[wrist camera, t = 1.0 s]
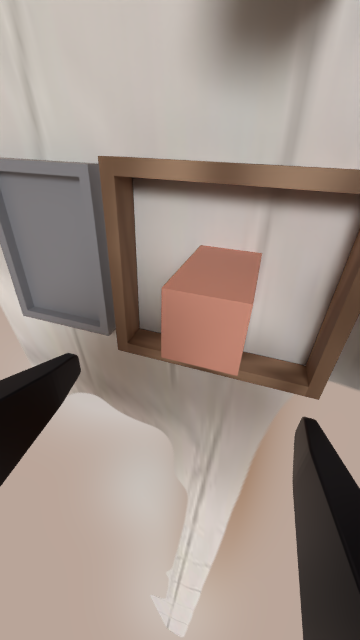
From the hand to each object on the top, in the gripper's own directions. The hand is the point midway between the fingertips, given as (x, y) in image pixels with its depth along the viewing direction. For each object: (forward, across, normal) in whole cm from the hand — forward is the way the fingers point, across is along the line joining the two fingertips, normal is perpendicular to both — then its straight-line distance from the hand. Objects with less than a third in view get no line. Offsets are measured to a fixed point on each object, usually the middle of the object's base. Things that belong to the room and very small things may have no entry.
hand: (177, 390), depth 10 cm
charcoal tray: (+12, +15, 0) cm, 19 cm away
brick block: (+12, 0, 0) cm, 12 cm away
